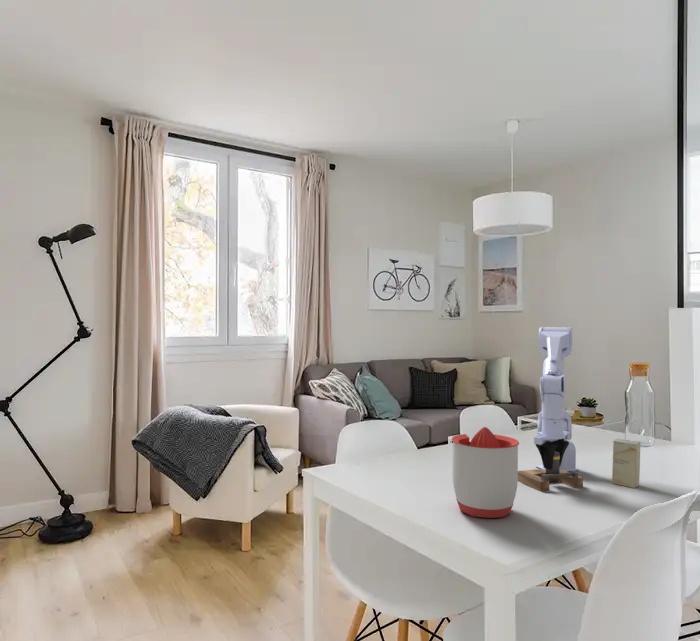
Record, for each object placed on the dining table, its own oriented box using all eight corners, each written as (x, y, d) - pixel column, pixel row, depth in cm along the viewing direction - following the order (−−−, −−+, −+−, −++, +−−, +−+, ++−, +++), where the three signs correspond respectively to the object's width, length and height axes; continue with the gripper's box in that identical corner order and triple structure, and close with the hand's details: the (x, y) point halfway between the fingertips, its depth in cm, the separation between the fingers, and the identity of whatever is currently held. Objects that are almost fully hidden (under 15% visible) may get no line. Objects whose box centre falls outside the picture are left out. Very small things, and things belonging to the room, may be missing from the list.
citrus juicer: (504, 498, 141) (504, 420, 141) (528, 522, 123) (529, 433, 124) (443, 498, 140) (444, 419, 140) (459, 522, 123) (460, 433, 123)
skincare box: (611, 483, 154) (611, 440, 155) (616, 480, 158) (616, 438, 158) (636, 488, 150) (636, 443, 150) (640, 484, 154) (640, 441, 154)
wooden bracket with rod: (556, 476, 162) (556, 462, 162) (582, 486, 151) (582, 472, 151) (515, 479, 157) (515, 466, 157) (539, 491, 147) (540, 476, 147)
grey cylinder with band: (557, 472, 155) (557, 450, 155) (561, 475, 151) (561, 454, 151) (543, 472, 155) (543, 450, 155) (547, 475, 151) (548, 453, 151)
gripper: (554, 414, 161) (553, 460, 161) (524, 418, 152) (524, 468, 152) (576, 417, 155) (576, 465, 155) (547, 422, 146) (546, 473, 146)
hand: (552, 467), depth 153 cm, fingers closed on grey cylinder with band, 4 cm apart
